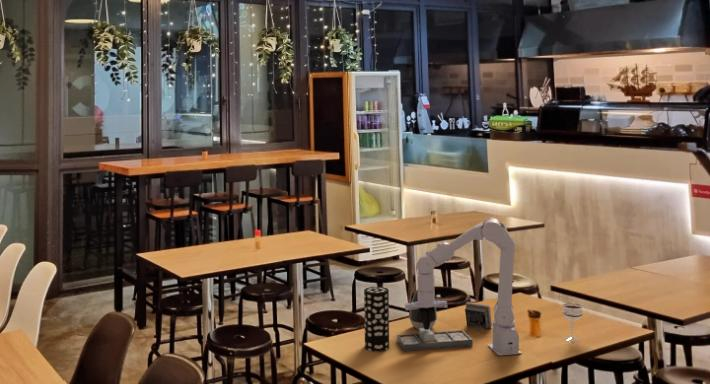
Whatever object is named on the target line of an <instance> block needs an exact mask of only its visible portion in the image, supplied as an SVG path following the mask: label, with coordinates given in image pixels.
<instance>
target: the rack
mask: <svg viewBox="0 0 710 384" xmlns="http://www.w3.org/2000/svg"><path fill="white" fill-rule="evenodd" d="M432 332H433V333H434V342H433V341H432V342H426V343H422V342H421V341H420V339H419V332H417V333H408V334H407V333H405V334H397V335H396V342H397V344H398V345H399V346H400V347H401V350H402V351H403V352H404V353H405V352H415V351H416V352H417V351H427V350H429V351H430V350H441V349H442V350H443V349H454V348H466V347H467V348H468V347H473V341H474V340H473V338H471V337H470V335H468V334H467V333H466V331H464V330H463V329H461V330H446V331H432Z"/></svg>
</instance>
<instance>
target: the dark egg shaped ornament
mask: <svg viewBox="0 0 710 384" xmlns="http://www.w3.org/2000/svg"><path fill="white" fill-rule="evenodd" d="M417 301H418V289H417V290H416V291H415V293H414V294H413V297H412V299H411V303H412V302H417ZM434 309H435V314H434V316H433V318H432V320H431V323H430V327H429V329H430V330H431V328H433V327H434V326H435V324H436V322H437V319H438V314H437V308H434ZM408 319H409V320H410V324H411V325H412V327H414V328H415V329H417V330H419V328H424V327H423V322H422V319H421V316H420V314H419V312H418V310H417V309H411V310H409V317H408Z"/></svg>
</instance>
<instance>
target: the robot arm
mask: <svg viewBox="0 0 710 384" xmlns="http://www.w3.org/2000/svg"><path fill="white" fill-rule="evenodd" d="M484 238H485V239H484ZM475 240H477V241H483V240H487V241H489V242H490V243H494V245H495V246H496V247H498V249H500V250H499V251H500V253H499V254H500V257H499V270H498V271H499V272H498V275H499V276H498V287H497V288H498V290H497V300H496V303H495V305H494V307H493V310H494V311H493V312H494V316H493V320H492V343H490V344H489V343H488V344H487V346H488V347H489V348H490V349H491V350H492V351H493V352H494V353H496V354H497V356H510V355H521V354H522V351H521V350H520V348H519V347H520V335H519V333H518V331H517V330H516V321H515V315H514V307H513V305H512V303H513V301H512V300H513V299H512V298H513V280H514V266H515V249H516V248H515V246H516V245H515V241H514V239H513V237H512V236H511V235H510V233H509V231H508V230H507V227H506V226H505V224H503V223H502V222H501V221H500V220H499V219H498V218H495V217H489V218H487V219H485V220H484V221H481V222H479V223H477V224H475V225H473V226H472V227H471V228H469V229H468V230H466V231H465V232H463V233H462V234H461V235H459V236H458V237H456V238H455V239H453V240H452V241H450V242H445V241H444V242H442V243H441V242H438V243H437V245H436V247H435V248H433V249H432V250H429V251H428V250H427V251H425V254H423V255H421V256H419V258H418V260H417V261H416V269H417V290H418V301H417V302H412V301H411V302H405V303H404V309H405V310H406V311H410V310H411V309H417V310H418V312H419V314H420V316H421V319H422V322H423V327H424V329H425V330H429V327H430V323H431V320H432V318H433V316H434V314H435V309H434V308H436V309H437V308H444V309H445V308H448V301H446V300H436V299H435V298H436V297H435V295H436V293H435V275H434V274H435V272H434V271H435V268H436V267H439V266H441V265H443V264H444V263H446V262H448V260H450V259H452V258H454V256H455V255H454V254H455V252H456V251H457V250H459V249H461V248H462V247H465V246H466V245H467V244H469V243H471V242H473V241H475Z"/></svg>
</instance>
